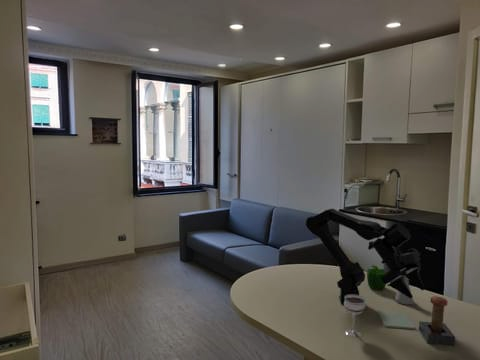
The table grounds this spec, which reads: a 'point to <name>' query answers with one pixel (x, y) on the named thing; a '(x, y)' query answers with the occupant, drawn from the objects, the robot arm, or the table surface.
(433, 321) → the walnut peg
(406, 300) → the flask
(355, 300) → the wineglass
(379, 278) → the bell pepper
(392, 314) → the green pad
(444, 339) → the eye block
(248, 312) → the table surface
